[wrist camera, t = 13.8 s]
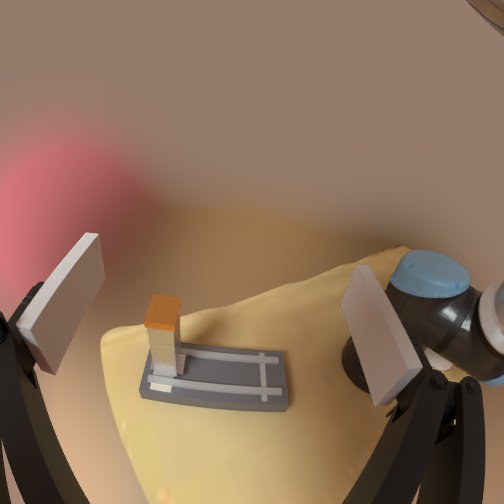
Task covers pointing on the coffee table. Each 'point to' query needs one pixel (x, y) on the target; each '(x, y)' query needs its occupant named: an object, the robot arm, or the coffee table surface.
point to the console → (222, 380)
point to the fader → (165, 335)
